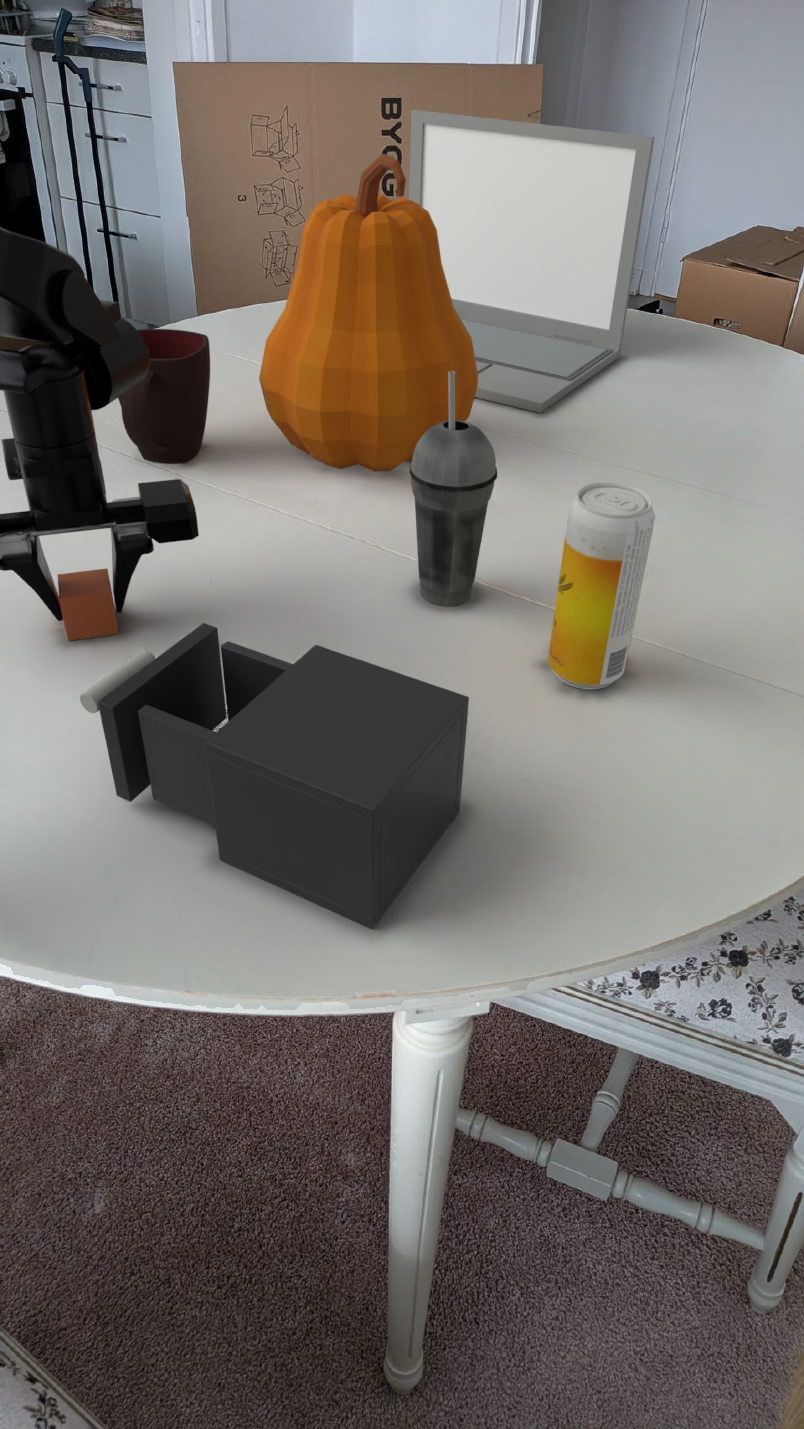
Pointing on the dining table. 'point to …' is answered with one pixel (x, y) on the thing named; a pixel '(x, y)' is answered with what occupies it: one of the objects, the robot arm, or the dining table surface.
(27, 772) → the dining table surface
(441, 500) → the beverage cup
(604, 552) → the beer can
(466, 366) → the decorative pumpkin
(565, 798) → the dining table surface
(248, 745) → the cabinet
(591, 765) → the dining table surface
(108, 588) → the block
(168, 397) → the mug
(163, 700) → the drawer
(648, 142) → the laptop
